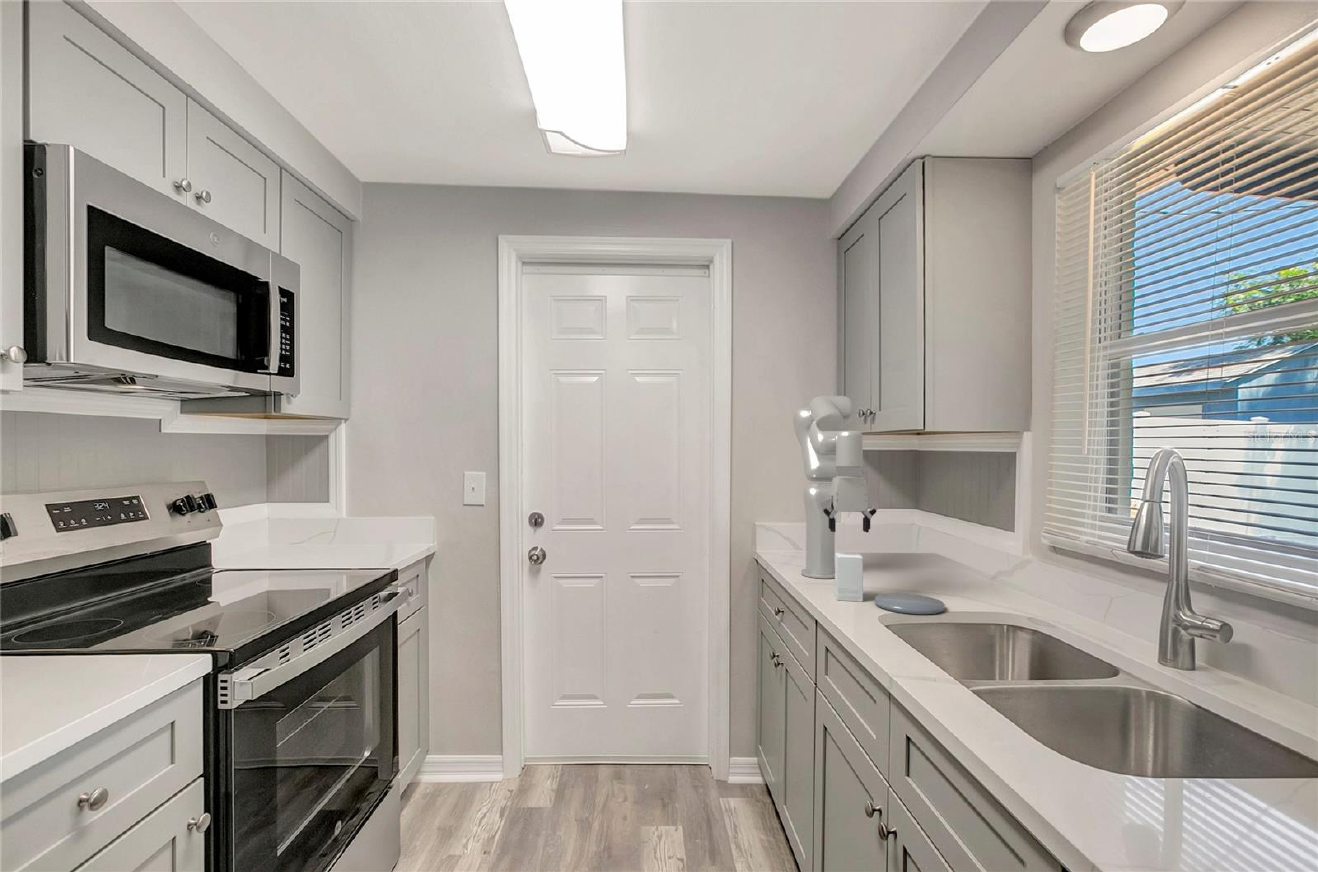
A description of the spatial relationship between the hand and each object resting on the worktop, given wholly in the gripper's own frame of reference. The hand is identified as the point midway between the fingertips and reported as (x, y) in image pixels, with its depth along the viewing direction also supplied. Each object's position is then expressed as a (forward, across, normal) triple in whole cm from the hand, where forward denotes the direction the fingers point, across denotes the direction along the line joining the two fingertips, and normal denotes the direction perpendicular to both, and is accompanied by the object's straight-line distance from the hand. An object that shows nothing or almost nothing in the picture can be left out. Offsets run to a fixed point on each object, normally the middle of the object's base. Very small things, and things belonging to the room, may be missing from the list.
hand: (849, 531), depth 182 cm
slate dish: (+20, -14, +8) cm, 25 cm away
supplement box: (+20, 0, -1) cm, 20 cm away
